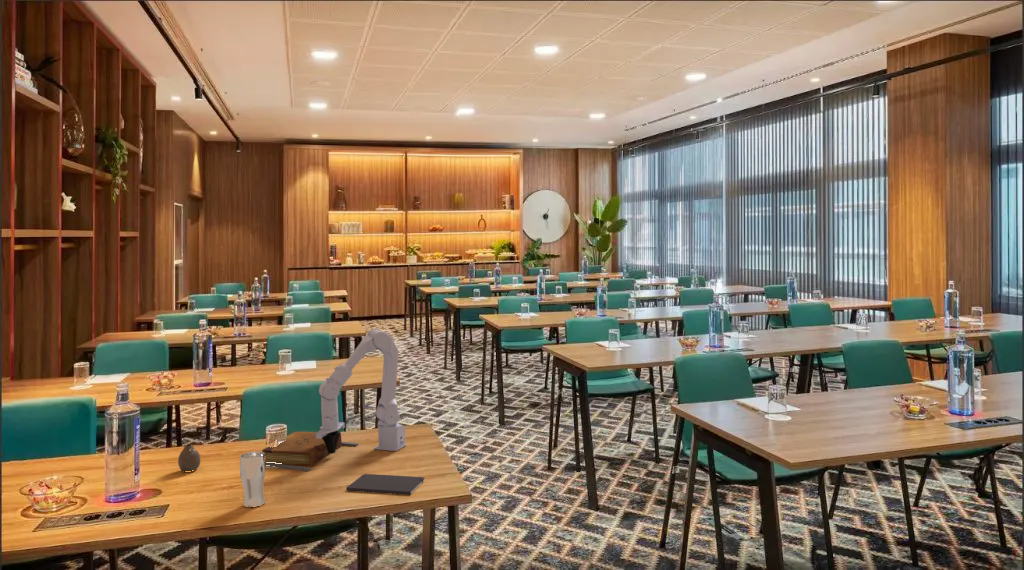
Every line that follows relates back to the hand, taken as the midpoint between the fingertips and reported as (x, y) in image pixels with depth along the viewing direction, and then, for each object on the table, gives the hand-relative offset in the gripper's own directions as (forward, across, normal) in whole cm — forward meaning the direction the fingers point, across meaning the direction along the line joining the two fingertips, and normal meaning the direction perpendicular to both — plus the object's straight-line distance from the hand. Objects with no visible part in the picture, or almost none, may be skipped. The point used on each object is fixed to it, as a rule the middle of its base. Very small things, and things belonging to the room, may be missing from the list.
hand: (331, 452), depth 247 cm
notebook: (+2, +19, +34) cm, 39 cm away
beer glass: (+2, +44, +4) cm, 44 cm away
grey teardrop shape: (+2, +26, -39) cm, 47 cm away
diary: (+2, +1, -12) cm, 12 cm away
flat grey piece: (+2, 0, -13) cm, 13 cm away
